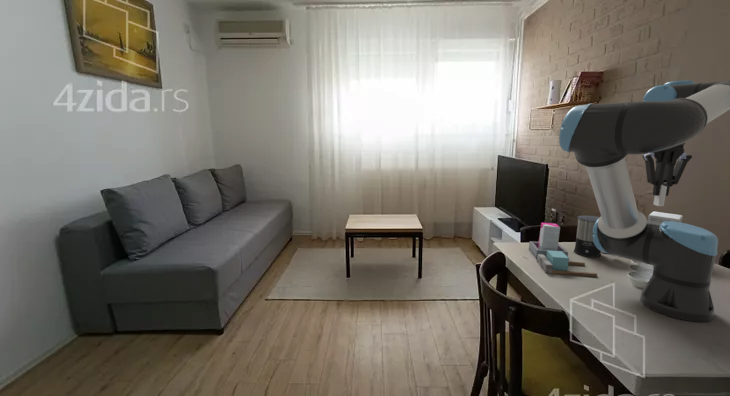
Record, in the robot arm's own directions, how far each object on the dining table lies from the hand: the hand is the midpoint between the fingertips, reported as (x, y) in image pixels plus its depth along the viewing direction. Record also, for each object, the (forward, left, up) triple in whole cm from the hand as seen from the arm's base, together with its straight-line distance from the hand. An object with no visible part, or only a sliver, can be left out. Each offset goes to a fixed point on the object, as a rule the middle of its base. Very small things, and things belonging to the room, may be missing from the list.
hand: (658, 205), depth 113 cm
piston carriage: (0, +29, -24) cm, 38 cm away
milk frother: (+22, +9, -25) cm, 34 cm away
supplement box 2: (+22, -15, -25) cm, 36 cm away
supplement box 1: (+14, +28, -24) cm, 39 cm away
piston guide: (0, +26, -24) cm, 35 cm away
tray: (+14, +28, -24) cm, 39 cm away
